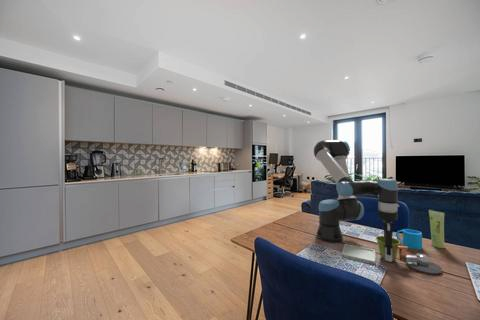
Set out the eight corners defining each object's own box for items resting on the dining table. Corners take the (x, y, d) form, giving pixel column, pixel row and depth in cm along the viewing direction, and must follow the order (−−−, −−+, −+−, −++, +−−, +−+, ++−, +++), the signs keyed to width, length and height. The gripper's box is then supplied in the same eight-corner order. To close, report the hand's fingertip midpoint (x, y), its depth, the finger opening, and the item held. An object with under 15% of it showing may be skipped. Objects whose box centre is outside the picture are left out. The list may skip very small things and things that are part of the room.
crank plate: (407, 269, 85) (406, 265, 85) (403, 257, 95) (403, 254, 95) (445, 278, 78) (445, 274, 78) (437, 264, 88) (437, 261, 88)
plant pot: (394, 264, 88) (394, 245, 88) (372, 255, 96) (372, 238, 96) (404, 259, 92) (404, 241, 92) (382, 251, 100) (382, 234, 100)
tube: (430, 246, 107) (429, 211, 107) (429, 243, 110) (428, 209, 111) (445, 249, 103) (444, 212, 103) (443, 245, 107) (442, 210, 107)
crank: (423, 261, 89) (423, 245, 89) (432, 266, 84) (431, 249, 84) (395, 260, 90) (394, 244, 90) (401, 265, 86) (401, 248, 86)
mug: (425, 247, 105) (425, 232, 105) (417, 250, 102) (416, 235, 102) (400, 239, 116) (400, 226, 116) (392, 242, 113) (391, 228, 113)
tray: (341, 256, 97) (341, 253, 97) (345, 246, 109) (344, 243, 109) (375, 264, 89) (375, 261, 89) (375, 252, 101) (375, 249, 101)
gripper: (400, 217, 83) (400, 269, 83) (395, 206, 100) (395, 250, 101) (378, 214, 87) (379, 264, 88) (377, 205, 105) (378, 246, 105)
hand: (388, 256), depth 94 cm, fingers closed on plant pot, 8 cm apart
